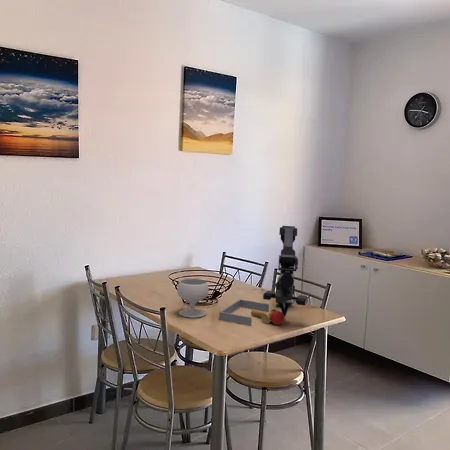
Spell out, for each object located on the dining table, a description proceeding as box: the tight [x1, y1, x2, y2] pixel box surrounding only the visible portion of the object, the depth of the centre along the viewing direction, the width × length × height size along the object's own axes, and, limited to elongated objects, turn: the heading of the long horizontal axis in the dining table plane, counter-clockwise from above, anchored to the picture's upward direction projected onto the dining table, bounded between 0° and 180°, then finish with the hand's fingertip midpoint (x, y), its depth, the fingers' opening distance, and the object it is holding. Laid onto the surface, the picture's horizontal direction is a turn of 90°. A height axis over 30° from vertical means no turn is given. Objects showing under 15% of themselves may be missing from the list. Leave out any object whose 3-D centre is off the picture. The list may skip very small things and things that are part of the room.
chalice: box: [176, 277, 210, 319], centre depth 207 cm, size 14×14×15 cm
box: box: [218, 298, 270, 327], centre depth 209 cm, size 24×15×4 cm, turn 156°
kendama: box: [250, 308, 286, 326], centre depth 203 cm, size 8×6×18 cm
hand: (284, 316), depth 202 cm, fingers closed
